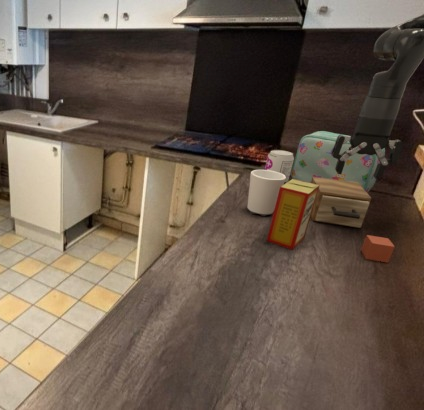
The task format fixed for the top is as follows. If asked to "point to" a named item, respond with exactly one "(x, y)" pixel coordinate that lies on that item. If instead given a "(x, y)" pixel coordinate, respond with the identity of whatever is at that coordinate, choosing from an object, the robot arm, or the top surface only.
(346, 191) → the cabinet
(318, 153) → the lunch box
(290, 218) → the baking soda box
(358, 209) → the drawer
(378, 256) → the block
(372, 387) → the top surface
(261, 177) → the cup
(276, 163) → the supplement can
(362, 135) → the robot arm
